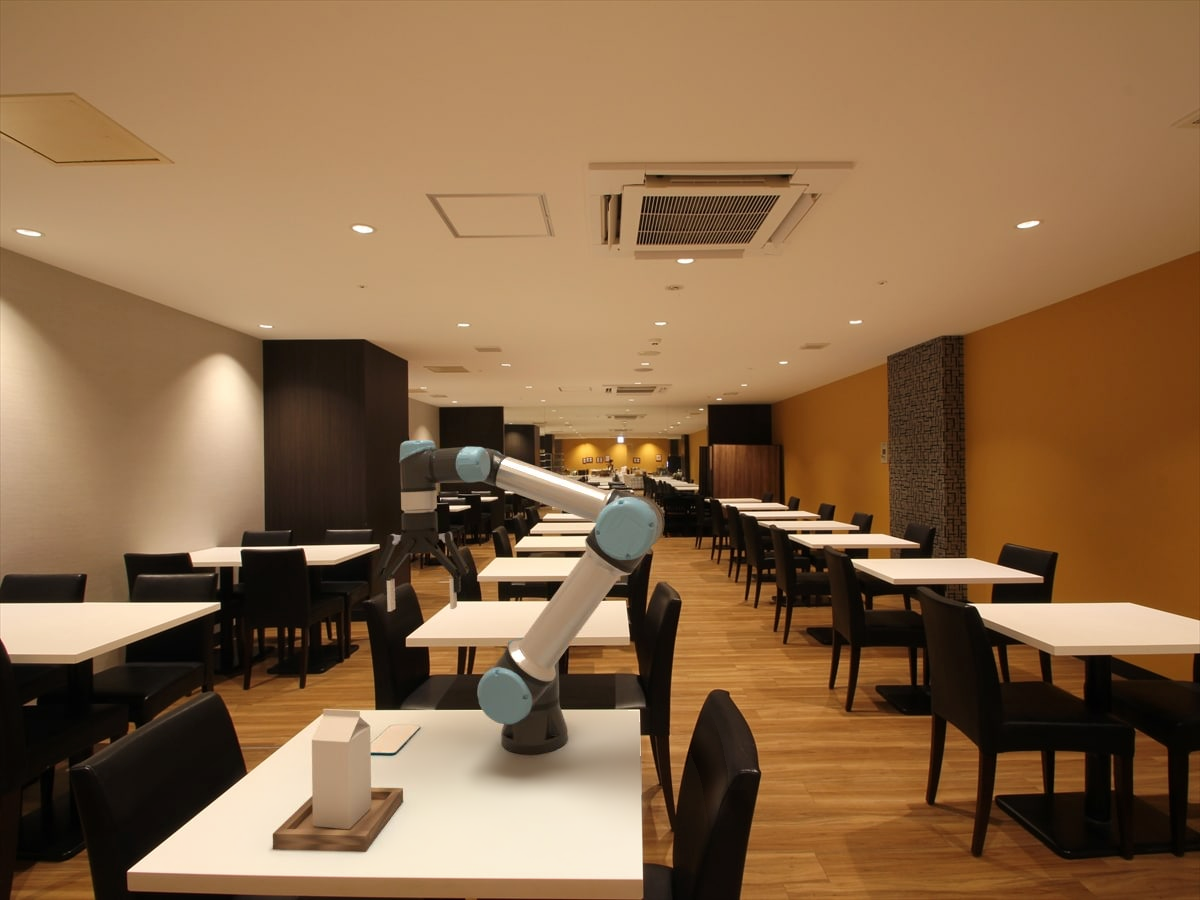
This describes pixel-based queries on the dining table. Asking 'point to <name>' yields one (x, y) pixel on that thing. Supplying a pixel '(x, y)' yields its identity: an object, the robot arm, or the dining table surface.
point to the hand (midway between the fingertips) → (422, 609)
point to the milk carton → (341, 769)
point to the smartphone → (393, 739)
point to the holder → (357, 838)
